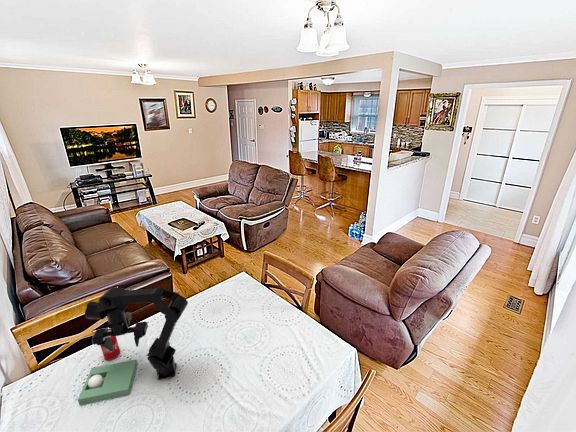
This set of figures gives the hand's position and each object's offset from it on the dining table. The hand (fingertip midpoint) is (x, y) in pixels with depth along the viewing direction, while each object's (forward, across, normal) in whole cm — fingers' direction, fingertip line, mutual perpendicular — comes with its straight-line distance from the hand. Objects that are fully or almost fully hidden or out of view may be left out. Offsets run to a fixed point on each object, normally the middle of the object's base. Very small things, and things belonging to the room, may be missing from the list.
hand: (125, 348), depth 116 cm
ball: (+10, +11, +5) cm, 16 cm away
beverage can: (+12, +10, -10) cm, 19 cm away
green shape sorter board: (+12, +6, +5) cm, 15 cm away
